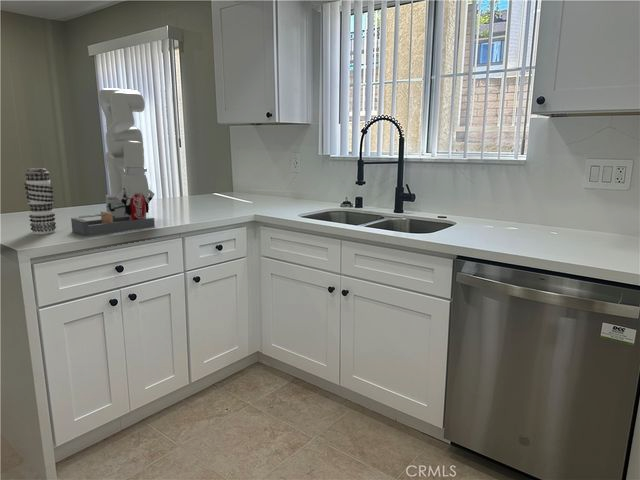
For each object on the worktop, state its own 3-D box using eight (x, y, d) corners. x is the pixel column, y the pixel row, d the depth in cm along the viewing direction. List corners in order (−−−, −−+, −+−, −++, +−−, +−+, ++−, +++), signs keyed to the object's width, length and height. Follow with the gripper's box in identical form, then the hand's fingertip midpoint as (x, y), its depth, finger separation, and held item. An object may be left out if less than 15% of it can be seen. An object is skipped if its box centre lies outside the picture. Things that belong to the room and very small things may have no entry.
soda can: (150, 219, 190) (148, 192, 188) (138, 222, 184) (136, 194, 181) (137, 218, 192) (135, 191, 190) (125, 221, 186) (123, 193, 183)
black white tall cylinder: (25, 232, 171) (17, 168, 166) (50, 228, 179) (43, 167, 173) (36, 235, 166) (29, 169, 161) (62, 231, 174) (55, 168, 169)
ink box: (107, 222, 196) (105, 196, 193) (107, 220, 200) (104, 194, 198) (128, 221, 200) (126, 195, 197) (127, 219, 204) (125, 194, 202)
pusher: (76, 229, 174) (74, 213, 172) (104, 226, 182) (103, 211, 180) (84, 233, 168) (83, 216, 167) (113, 229, 176) (112, 213, 175)
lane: (72, 231, 174) (70, 218, 173) (141, 223, 196) (141, 210, 194) (83, 236, 167) (82, 221, 166) (154, 226, 188) (154, 214, 187)
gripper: (149, 170, 192) (152, 210, 196) (109, 171, 180) (113, 214, 183) (158, 171, 188) (160, 212, 192) (118, 172, 175) (121, 216, 179)
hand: (137, 212), depth 187 cm, fingers closed on soda can, 7 cm apart
